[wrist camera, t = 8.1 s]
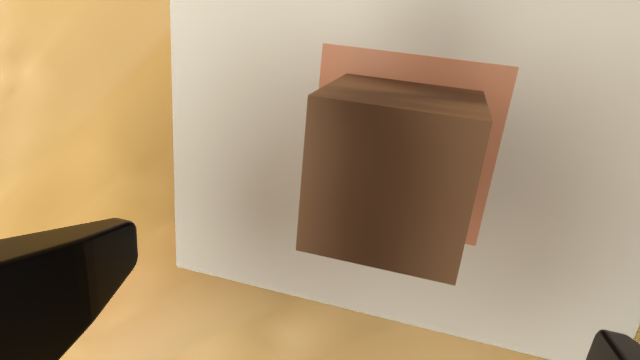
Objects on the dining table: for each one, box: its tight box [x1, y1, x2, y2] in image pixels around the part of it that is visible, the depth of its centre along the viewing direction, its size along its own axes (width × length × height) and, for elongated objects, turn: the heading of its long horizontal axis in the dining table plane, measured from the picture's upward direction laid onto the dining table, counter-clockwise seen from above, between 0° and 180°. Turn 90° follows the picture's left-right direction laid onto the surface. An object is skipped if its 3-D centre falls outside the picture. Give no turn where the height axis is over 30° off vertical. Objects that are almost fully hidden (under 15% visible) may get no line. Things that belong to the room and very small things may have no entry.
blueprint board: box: [170, 0, 640, 360], centre depth 18 cm, size 20×16×1 cm
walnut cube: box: [296, 73, 493, 286], centre depth 16 cm, size 5×5×5 cm
